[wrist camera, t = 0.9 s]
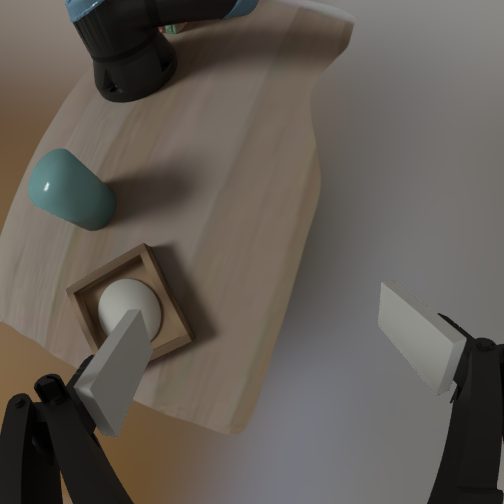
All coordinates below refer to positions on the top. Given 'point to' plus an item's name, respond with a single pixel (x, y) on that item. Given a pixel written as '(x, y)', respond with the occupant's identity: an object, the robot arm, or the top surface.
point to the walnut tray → (141, 269)
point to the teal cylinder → (71, 191)
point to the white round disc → (129, 305)
